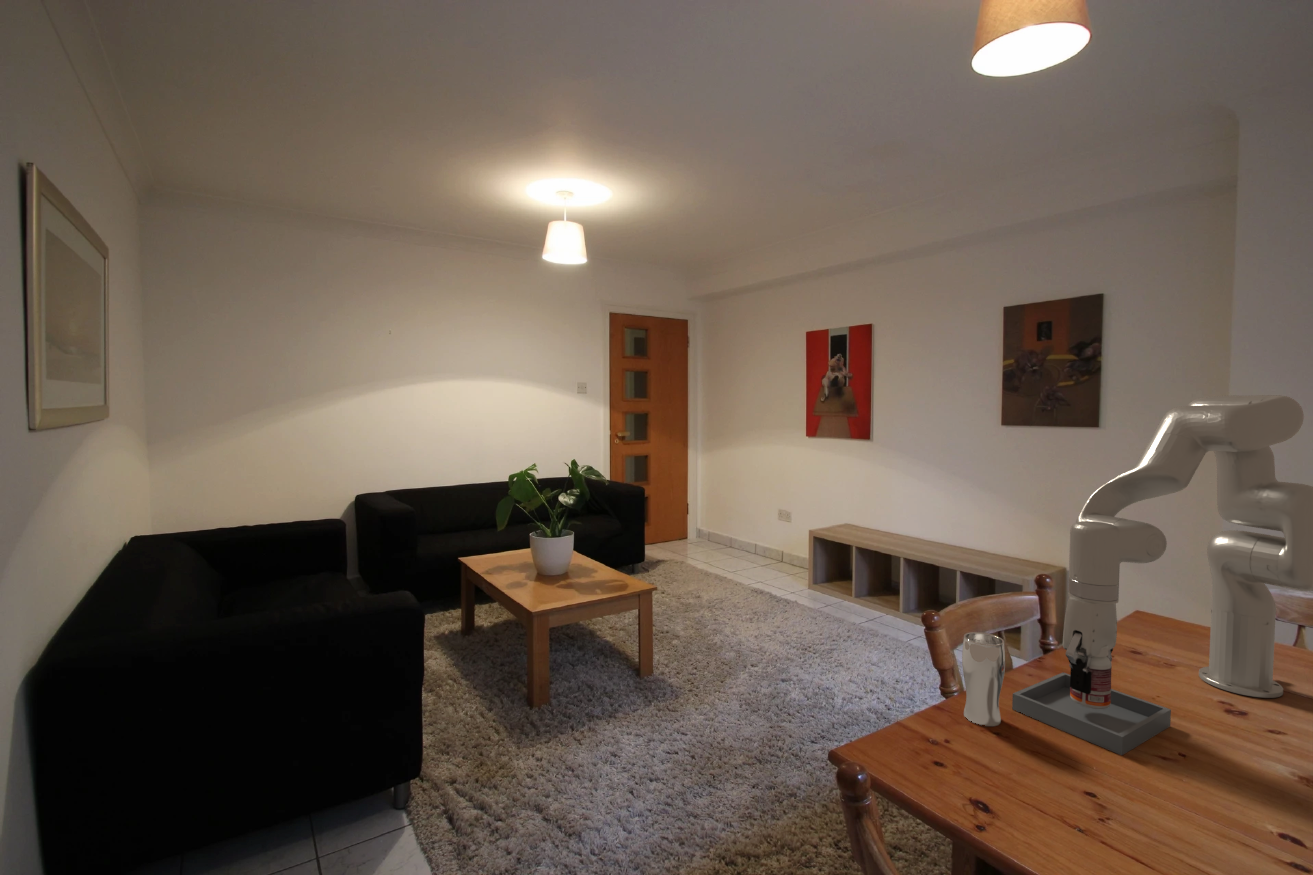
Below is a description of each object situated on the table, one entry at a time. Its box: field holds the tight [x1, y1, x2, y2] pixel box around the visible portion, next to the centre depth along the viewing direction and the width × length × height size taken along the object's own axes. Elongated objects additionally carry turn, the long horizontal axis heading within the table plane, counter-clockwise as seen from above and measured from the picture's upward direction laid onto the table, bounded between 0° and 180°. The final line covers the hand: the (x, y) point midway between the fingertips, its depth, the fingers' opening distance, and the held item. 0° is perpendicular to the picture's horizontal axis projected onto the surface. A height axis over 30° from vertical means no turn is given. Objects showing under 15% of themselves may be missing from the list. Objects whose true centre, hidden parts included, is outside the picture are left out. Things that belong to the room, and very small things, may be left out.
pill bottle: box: [1070, 645, 1113, 709], centre depth 114 cm, size 6×6×11 cm
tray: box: [1011, 671, 1172, 756], centre depth 114 cm, size 18×18×3 cm
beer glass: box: [961, 631, 1006, 727], centre depth 114 cm, size 7×7×15 cm
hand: (1090, 685), depth 114 cm, fingers closed on pill bottle, 6 cm apart
